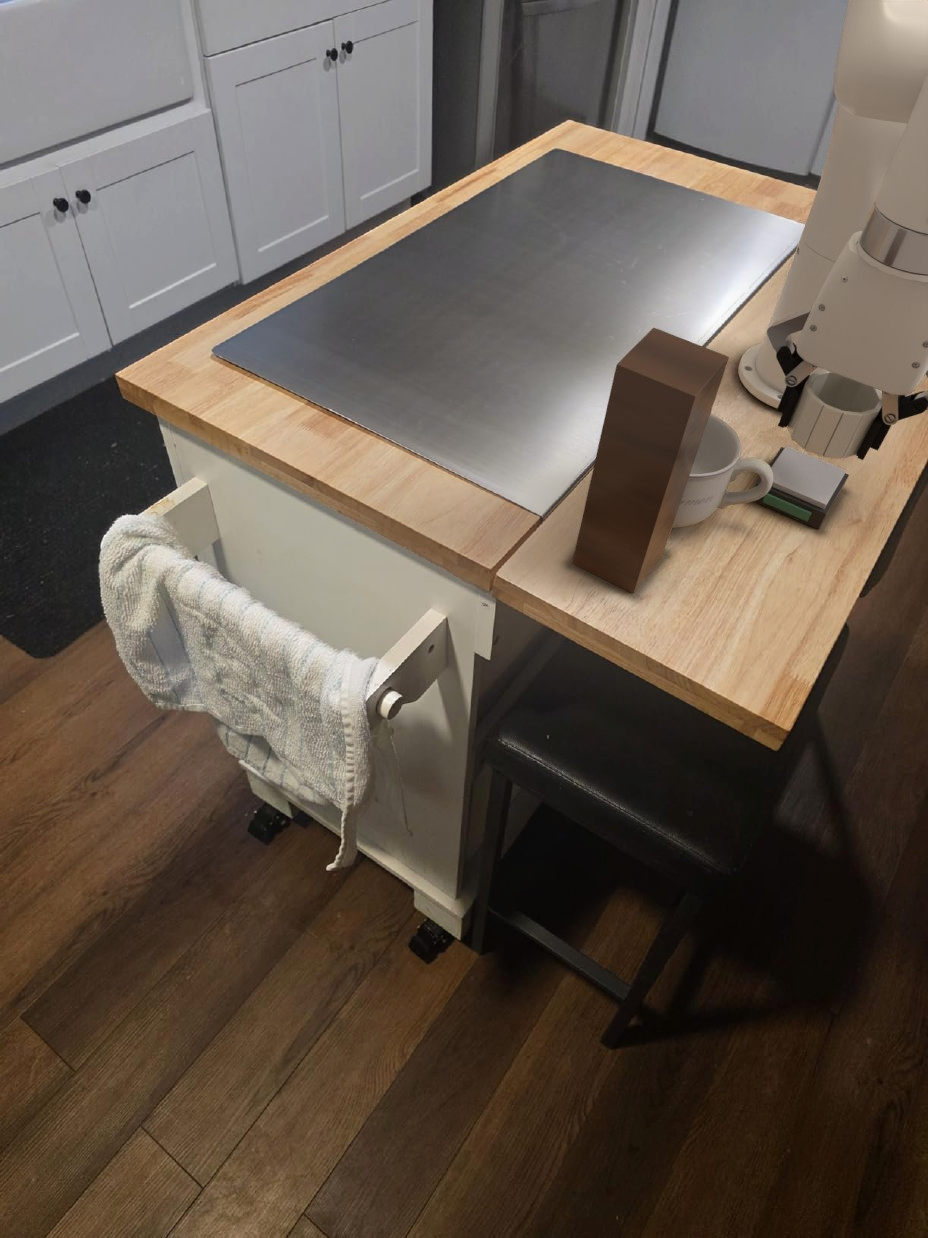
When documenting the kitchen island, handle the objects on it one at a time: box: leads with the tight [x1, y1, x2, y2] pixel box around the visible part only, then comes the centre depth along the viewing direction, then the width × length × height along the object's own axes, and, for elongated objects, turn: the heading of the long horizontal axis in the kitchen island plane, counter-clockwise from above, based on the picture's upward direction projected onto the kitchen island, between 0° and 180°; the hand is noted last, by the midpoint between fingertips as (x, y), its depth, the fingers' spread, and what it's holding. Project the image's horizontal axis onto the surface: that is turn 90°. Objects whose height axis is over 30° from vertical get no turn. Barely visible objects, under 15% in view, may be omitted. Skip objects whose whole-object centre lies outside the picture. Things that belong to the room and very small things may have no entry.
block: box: [571, 327, 730, 594], centre depth 69 cm, size 6×6×20 cm
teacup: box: [672, 413, 773, 529], centre depth 78 cm, size 14×11×8 cm
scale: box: [754, 445, 850, 530], centre depth 82 cm, size 7×7×3 cm
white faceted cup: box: [786, 370, 882, 460], centre depth 76 cm, size 6×6×5 cm
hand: (825, 433), depth 78 cm, fingers closed on white faceted cup, 6 cm apart
